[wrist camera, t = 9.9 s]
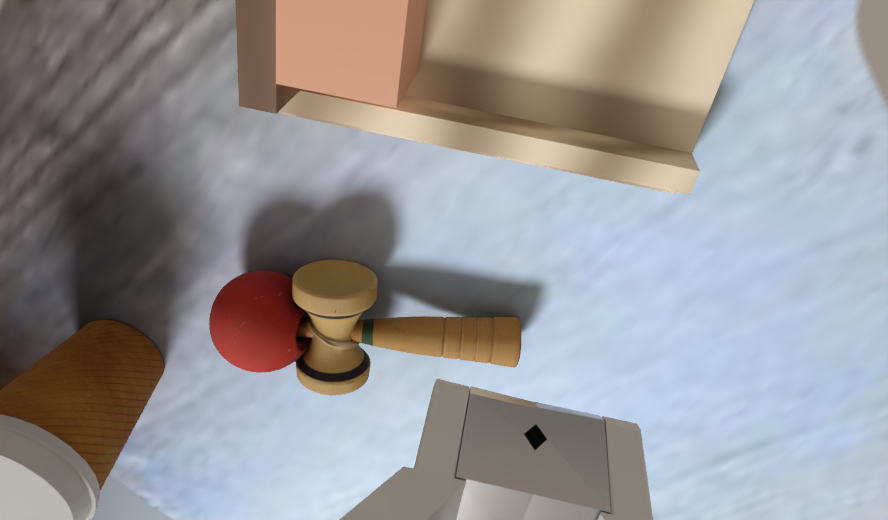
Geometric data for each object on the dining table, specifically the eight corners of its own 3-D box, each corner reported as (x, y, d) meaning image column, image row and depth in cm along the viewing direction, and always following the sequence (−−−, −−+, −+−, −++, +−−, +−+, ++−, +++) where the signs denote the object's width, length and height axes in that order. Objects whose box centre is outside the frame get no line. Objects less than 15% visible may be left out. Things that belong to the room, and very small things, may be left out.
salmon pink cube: (433, -45, 27) (411, -25, 23) (418, 71, 29) (396, 108, 25) (318, -67, 27) (275, -51, 23) (314, 50, 30) (275, 83, 26)
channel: (778, -81, 25) (833, -62, 20) (672, 184, 32) (693, 247, 27) (292, -172, 26) (229, -176, 21) (288, 106, 33) (240, 153, 28)
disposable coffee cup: (29, 318, 44) (-123, 455, 34) (130, 285, 41) (-5, 425, 31) (115, 411, 49) (2, 556, 39) (212, 388, 45) (116, 539, 36)
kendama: (523, 250, 37) (213, 233, 36) (532, 335, 32) (178, 317, 32) (506, 334, 42) (236, 320, 42) (512, 416, 38) (209, 402, 37)
